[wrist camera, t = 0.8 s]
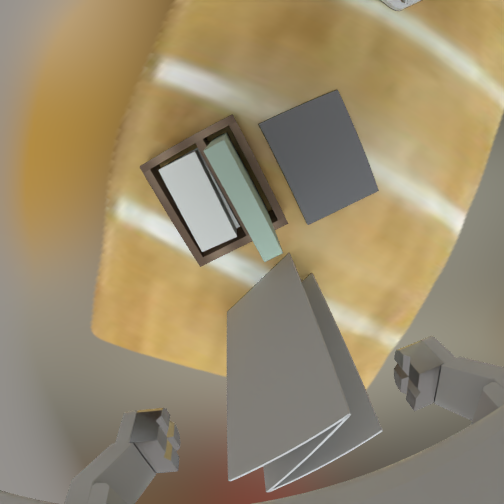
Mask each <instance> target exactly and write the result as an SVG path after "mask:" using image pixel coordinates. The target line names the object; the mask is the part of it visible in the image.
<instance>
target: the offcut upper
mask: <svg viewBox="0 0 504 504" xmlns="http://www.w3.org/2000/svg"><path fill="white" fill-rule="evenodd" d="M159 172H160V174H161V176H162V178H163V180H164V182H165V184H166V186H167V188H168V190H169V192H170V193H171V195H172V197H173V199H174V201H175V203H176V205H177V207H178V209H179V210H180V212H181V214H182V216H183V218H184V220H185V222H186V223H187V225H188V227H189V229H190V231H191V233H192V235H193V236H194V238H195V240H196V242H197V244H198V246H199V247H200V249H201V251H202V252H204V251H206V250H208V249H210V248H213V247H215V246H217V245H219V244H222V243H224V242H226V241H228V240H231V239H233V238H235V237H237V228H236V226H235V224H234V222H233V220H232V218H231V216H230V214H229V212H228V210H227V208H226V206H225V204H224V202H223V200H222V198H221V196H220V194H219V192H218V190H217V188H216V186H215V184H214V182H213V180H212V178H211V175H210V173H209V171H208V169H207V167H206V165H205V163H204V161H203V159H202V157H201V155H200V153H199V151H198V149H196V150H194V151H192V152H190V153H188V154H186V155H184V156H182V157H180V158H178V159H176V160H174V161H172V162H170V163H169V164H167V165H165V166H163V167H162V168H160V169H159Z"/></svg>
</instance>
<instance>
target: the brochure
mask: <svg viewBox="0 0 504 504" xmlns="http://www.w3.org/2000/svg"><path fill="white" fill-rule="evenodd" d="M382 431H383V430H382V427H381V426H380V423H379V420H378V418H377V416H376V413H375V411H374V408H373V406H372V403H371V401H370V399H369V397H368V394H367V392H366V389H365V387H364V385H363V382H362V380H361V378H360V375H359V373H358V371H357V369H356V366H355V364H354V362H353V360H352V357H351V355H350V353H349V351H348V348H347V346H346V344H345V342H344V339H343V337H342V335H341V333H340V331H339V328H338V326H337V324H336V322H335V320H334V318H333V315H332V313H331V311H330V309H329V307H328V305H327V303H326V300H325V298H324V296H323V294H322V292H321V290H320V288H319V286H318V284H317V281H316V279H315V277H314V275H313V273H311V274H310V275H309V276H308V277H307V278H306V279H304V280H303V281H302V282H301V279H300V277H299V274H298V272H297V269H296V267H295V264H294V262H293V260H292V257H291V255H290V253H288V254H287V255H286V256H285V257H284V258H283V259H282V260H281V261H280V262H279V263H278V264H277V265H276V266H275V267H274V268H272V269H271V270H270V271H269V272H268V273H267V274H266V275H265V276H264V277H263V278H262V279H261V280H260V281H259V282H258V283H257V284H256V285H255V286H254V287H253V288H252V289H251V290H250V291H249V292H248V293H246V294H245V295H244V296H243V297H242V298H241V299H240V300H239V301H238V302H237V303H236V304H235V305H234V306H233V307H232V308H231V309H230V310H229V311H228V312H227V444H228V481H233V480H235V479H237V478H239V477H241V476H244V475H246V474H248V473H250V472H252V471H254V470H256V469H258V468H260V467H262V466H264V476H265V485H266V492H270V491H273V490H275V489H277V488H280V487H282V486H284V485H286V484H288V483H291V482H293V481H295V480H297V479H299V478H301V477H303V476H305V475H307V474H309V473H311V472H313V471H315V470H317V469H319V468H321V467H323V466H325V465H326V464H329V463H330V462H332V461H334V460H336V459H338V458H339V457H341V456H343V455H345V454H346V453H348V452H350V451H351V450H353V449H355V448H357V447H358V446H360V445H361V444H363V443H365V442H366V441H368V440H369V439H371V438H373V437H374V436H376V435H377V434H379V433H380V432H382Z"/></svg>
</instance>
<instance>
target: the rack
mask: <svg viewBox="0 0 504 504" xmlns="http://www.w3.org/2000/svg"><path fill="white" fill-rule="evenodd" d="M227 126H229V127H230V129H231V131H232V132H233V134H234V136H235V138H236V140H237V142H238V144H239V146H240V147H241V149H242V151H243V153H244V155H245V157H246V159H247V161H248V163H249V165H250V167H251V168H252V170H253V172H254V174H255V176H256V178H257V180H258V182H259V184H260V186H261V188H262V190H263V192H264V194H265V196H266V198H267V200H268V202H269V203H270V205H271V207H272V209H273V210H271V211H269V212H268V213H269V216H270V219H271V221H272V224H273V227H274V230H276V229H278V228H280V227H282V226H284V225H286V224H288V222H287V220H286V218H285V216H284V214H283V212H282V210H281V208H280V206H279V204H278V202H277V200H276V198H275V196H274V194H273V192H272V190H271V188H270V186H269V184H268V182H267V180H266V178H265V176H264V174H263V172H262V170H261V168H260V166H259V164H258V162H257V160H256V158H255V156H254V154H253V152H252V150H251V149H250V147H249V145H248V143H247V141H246V139H245V137H244V135H243V133H242V131H241V129H240V128H239V126H238V124H237V122H236V120H235V118H234V116H233V114H232V115H230V116H228V117H226V118H224V119H222V120H220V121H219V122H217V123H215V124H213V125H211V126H209V127H207V128H205V129H203V130H202V131H200V132H198V133H196V134H194V135H192V136H191V137H189V138H187V139H185V140H183V141H182V142H180V143H178V144H176V145H175V146H173V147H171V148H169V149H168V150H166V151H164V152H163V153H161V154H159V155H158V156H156V157H154V158H153V159H151V160H149V161H148V162H146V163H145V164H143V165H141V166H140V169H141V170H142V172H143V174H144V175H145V177H146V179H147V181H148V182H149V184H150V186H151V187H152V189H153V191H154V192H155V194H156V196H157V197H158V199H159V201H160V202H161V204H162V206H163V207H164V209H165V211H166V212H167V214H168V216H169V217H170V219H171V221H172V222H173V224H174V225H175V227H176V229H177V230H178V232H179V234H180V235H181V237H182V238H183V240H184V242H185V243H186V245H187V246H188V248H189V250H190V251H191V253H192V254H193V256H194V258H195V259H196V261H197V262H198V264H199V265H200V267H201V266H203V265H205V264H207V263H209V262H211V261H213V260H215V259H217V258H219V257H221V256H223V255H225V254H227V253H229V252H231V251H233V250H235V249H237V248H239V247H241V246H243V245H245V244H247V243H250V242H252V241H253V240H252V238H251V237H250V235H249V233H248V231H247V229H246V227H245V226H244V224H243V222H242V220H241V218H240V217H239V215H238V213H237V211H236V209H235V207H234V206H233V204H232V202H231V200H230V198H229V197H228V195H227V193H226V191H225V189H224V187H223V186H222V184H221V182H220V180H219V178H218V177H217V175H216V173H215V171H214V169H213V167H212V166H211V164H210V162H209V160H208V158H207V157H206V155H205V153H204V150H205V148H206V147H207V146H208V145H209V141H208V140H207V138H206V137H208V136H209V135H211V134H213V133H215V132H217V131H219V130H221V129H223V128H225V127H227ZM195 143H196V145H197V147H198V149H199V151H200V152H201V154H202V156H203V158H204V160H205V162H206V163H207V165H208V167H209V169H210V171H211V172H212V174H213V176H214V178H215V180H216V181H217V183H218V185H219V187H220V189H221V190H222V192H223V194H224V196H225V198H226V199H227V201H228V203H229V205H230V207H231V208H232V210H233V212H234V214H235V216H236V218H237V219H238V221H239V223H240V225H241V226H240V227H238V228H237V237H235V238H233V239H231V240H228V241H226V242H224V243H222V244H219V245H217V246H215V247H213V248H210V249H208V250H206V251H204V252H202V251H201V249H200V247H199V246H198V244H197V242H196V240H195V238H194V236H193V235H192V233H191V231H190V229H189V227H188V225H187V223H186V222H185V220H184V218H183V216H182V214H181V212H180V210H179V209H178V207H177V205H176V203H175V201H174V199H173V197H172V195H171V193H170V192H169V190H168V188H167V186H166V184H165V182H164V180H163V178H162V176H161V174H160V172H159V169H160V168H161V167H160V165H159V164H160V163H161V162H163V161H165V160H166V159H168V158H170V157H172V156H173V155H175V154H177V153H179V152H180V151H182V150H184V149H186V148H187V147H189V146H191V145H193V144H195Z"/></svg>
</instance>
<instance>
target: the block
mask: <svg viewBox="0 0 504 504" xmlns="http://www.w3.org/2000/svg"><path fill="white" fill-rule="evenodd" d="M204 153H205V155H206V157H207V158H208V160H209V162H210V164H211V166H212V167H213V169H214V171H215V173H216V175H217V177H218V178H219V180H220V182H221V184H222V186H223V187H224V189H225V191H226V193H227V195H228V197H229V198H230V200H231V202H232V204H233V206H234V207H235V209H236V211H237V213H238V215H239V217H240V218H241V220H242V222H243V224H244V226H245V227H246V229H247V231H248V233H249V235H250V237H251V238H252V240H253V242H254V244H255V246H256V248H257V249H258V251H259V253H260V255H261V257H262V259H263V260H264V262H266V261H268V260H270V259H272V258H274V257H276V256H278V255H280V254H282V253H283V252H282V249H281V246H280V243H279V240H278V238H277V235H276V232H275V230H274V227H273V224H272V221H271V219H270V216H269V213H268V211H267V208H266V206H265V204H264V202H263V200H262V198H261V196H260V194H259V192H258V190H257V188H256V186H255V184H254V182H253V181H252V179H251V177H250V175H249V173H248V171H247V169H246V167H245V165H244V163H243V161H242V160H241V158H240V156H239V154H238V152H237V150H236V148H235V146H234V145H233V143H232V141H231V139H230V137H229V135H228V133H227V132H225V133H223V134H222V135H220V136H218V137H216V138H214V139H213V140H212V141H211V142H210V143H209V145H208V146H207V147H206V148H205V150H204Z"/></svg>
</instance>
